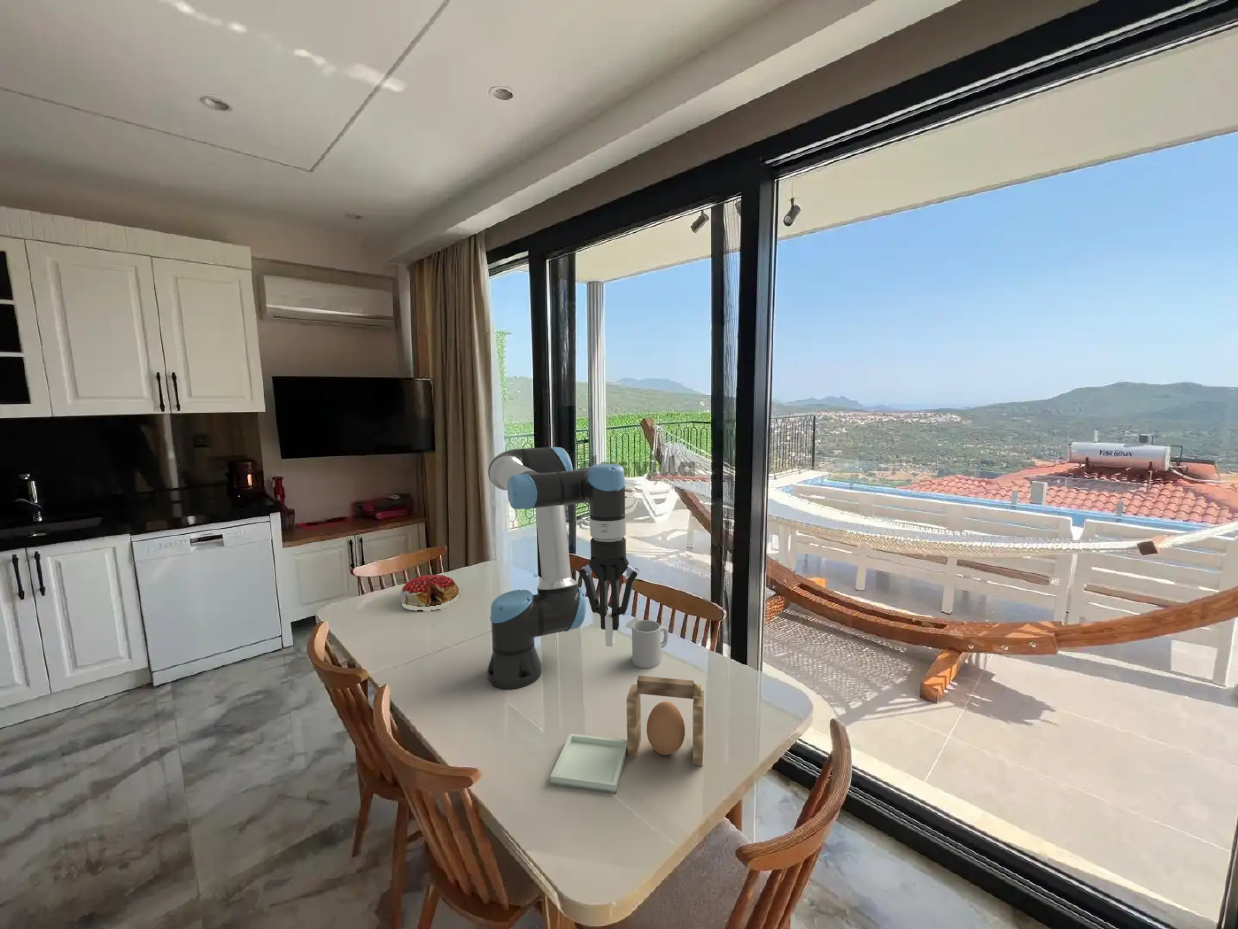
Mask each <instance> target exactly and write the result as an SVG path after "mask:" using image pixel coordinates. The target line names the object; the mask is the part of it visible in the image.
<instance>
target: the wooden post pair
mask: <svg viewBox="0 0 1238 929" xmlns="http://www.w3.org/2000/svg"><path fill="white" fill-rule="evenodd" d="M704 691H705V690H701V697H698V696H694V698H693V699H692V700H693V701H692V702H693V703H692V765H693V766H700V767H703V763H704V749H705V748H704V747H705V746H704V745H705V744H704V739H705V738H704V735H705V733H704V732H705V730H704V729H705V726H704V725H705V723H704V722H705V718H704V716H705V711H704V709H705V708H704V706H705V704H704V702H705V701H704V698H705V695H704V694H705V692H704ZM641 710H642V709H641V694H637V683H636V684H633V683H631V685H630V688H629V691H628V694H627V697H626V740H627V755H626V757H629V758H637V757H638V754H639V750H640V745H641V742H642V721H641V720H642V719H641V718H642V716H641V715H642V714H641V712H642V711H641Z"/></svg>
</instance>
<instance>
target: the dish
mask: <svg viewBox="0 0 1238 929" xmlns="http://www.w3.org/2000/svg"><path fill="white" fill-rule="evenodd" d="M626 757H627V739H620V738H619V739H618V738H609V737H600V736H595V735H593V736H592V735H585V734H577V733H569V735H568V737H567V739H566V741H565V743H564V745H563V747H562V750H561V752H560V754H559V756H558V759H557V761H556V763H555V765H554V767H553V769H552V772H551V773H550V776H549V780H550V785H553V786H560V787H567V788H575V789H581V790H588V791H592V792H593V791H594V792H602V793H609V794H617V790H618V788H619V787H618V786H619V784H620V780H621V777H622V773H623V769H624V765H625V762H626V759H627V758H626Z"/></svg>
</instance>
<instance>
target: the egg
mask: <svg viewBox="0 0 1238 929" xmlns="http://www.w3.org/2000/svg"><path fill="white" fill-rule="evenodd" d="M648 715H649V716H648V719H647V722H646V735H647V739H648V742H649V745H650V746H651V748H652V749H653V750H654V751H655V752H657V753H658V754H660V755H662V756H670V755H674V754H675V753H676V752H677V751H679V749H680V748H681V746H682V745H683V743H684V740H685V736H686V725H685V722H684V721H685V720H684V718H683V716H682V714H681V711H680V710H679V709H678V708H677V706H676V705H675V704H673V703H672V702H669V701H661V702H659V703H657V704H656V705H655V706H653V708H652V709H651V712H650V713H649V714H648Z"/></svg>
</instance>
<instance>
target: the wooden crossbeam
mask: <svg viewBox="0 0 1238 929" xmlns="http://www.w3.org/2000/svg"><path fill="white" fill-rule="evenodd" d="M636 684H637V694H640V695H648V696H649V695H650V696H656V697H657V696H659V697H668V698H669V697H670V698H678V699H688V700H690V699H691V700H694V696H698V697H701V691H702V684H699V683H695V681H694V680H690V679H682V678H681V679H680V678H670V677H659V676H647V675H638V676H637V680H636Z"/></svg>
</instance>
